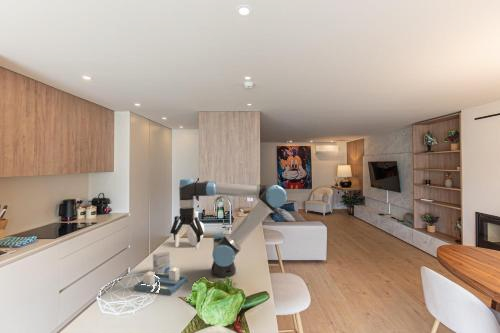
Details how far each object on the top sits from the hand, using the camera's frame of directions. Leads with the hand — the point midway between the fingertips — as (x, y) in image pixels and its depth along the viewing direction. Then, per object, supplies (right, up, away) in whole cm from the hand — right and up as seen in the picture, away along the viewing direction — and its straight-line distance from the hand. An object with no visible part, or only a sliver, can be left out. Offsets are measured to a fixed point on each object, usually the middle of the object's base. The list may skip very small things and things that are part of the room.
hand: (186, 247), depth 134 cm
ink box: (-20, -21, +17) cm, 33 cm away
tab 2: (-7, -19, +2) cm, 20 cm away
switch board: (-13, -20, -1) cm, 24 cm away
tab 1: (-19, -19, -3) cm, 27 cm away
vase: (-11, -21, +68) cm, 72 cm away
